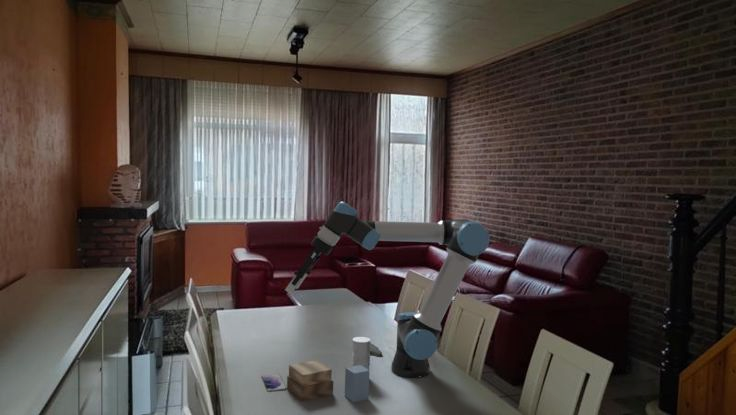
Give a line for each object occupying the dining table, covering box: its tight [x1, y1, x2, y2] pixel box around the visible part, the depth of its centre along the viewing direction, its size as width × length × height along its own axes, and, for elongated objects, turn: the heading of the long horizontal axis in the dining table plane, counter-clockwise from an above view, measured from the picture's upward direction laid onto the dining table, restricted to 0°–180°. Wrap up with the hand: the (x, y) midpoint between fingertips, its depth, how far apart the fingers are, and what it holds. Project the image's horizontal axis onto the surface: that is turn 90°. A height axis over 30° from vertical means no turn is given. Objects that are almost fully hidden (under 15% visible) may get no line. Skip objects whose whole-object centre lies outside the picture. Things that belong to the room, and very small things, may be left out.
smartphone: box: [260, 373, 288, 393], centre depth 192 cm, size 7×1×15 cm
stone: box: [369, 342, 383, 357], centre depth 231 cm, size 17×3×10 cm
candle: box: [351, 336, 371, 370], centre depth 198 cm, size 7×7×15 cm
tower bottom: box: [286, 375, 334, 402], centre depth 185 cm, size 12×12×5 cm
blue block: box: [344, 365, 371, 404], centre depth 181 cm, size 6×6×10 cm
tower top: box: [288, 359, 333, 387], centre depth 185 cm, size 11×11×4 cm
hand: (291, 289), depth 189 cm, fingers open, 13 cm apart
